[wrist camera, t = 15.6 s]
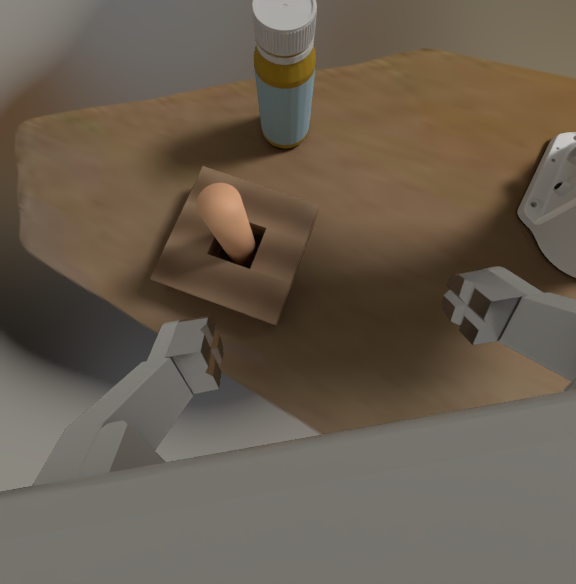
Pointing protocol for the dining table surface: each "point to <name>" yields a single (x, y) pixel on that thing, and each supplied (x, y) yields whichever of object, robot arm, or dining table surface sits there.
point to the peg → (228, 221)
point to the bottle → (284, 68)
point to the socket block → (231, 277)
